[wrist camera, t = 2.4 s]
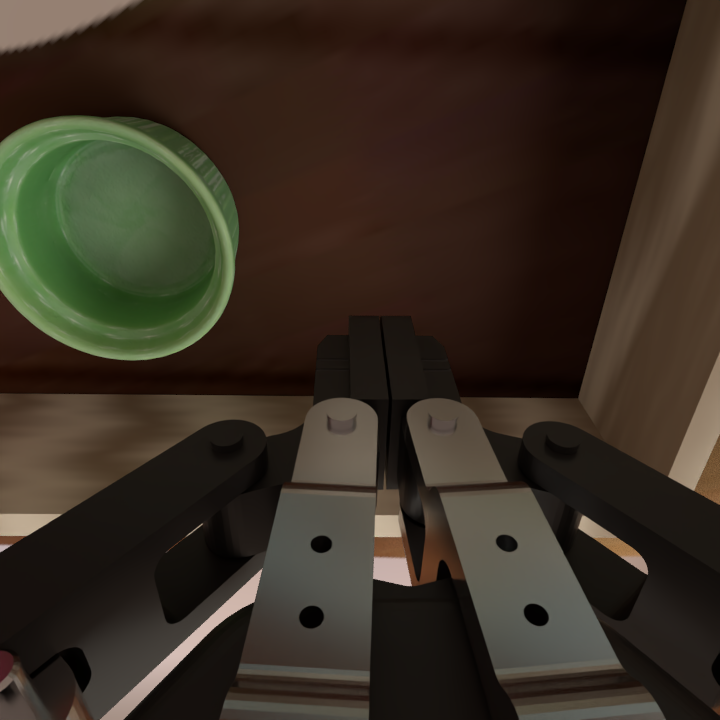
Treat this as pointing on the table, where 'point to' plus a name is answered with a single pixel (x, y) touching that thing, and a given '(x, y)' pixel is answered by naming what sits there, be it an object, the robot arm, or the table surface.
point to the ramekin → (115, 235)
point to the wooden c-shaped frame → (501, 415)
